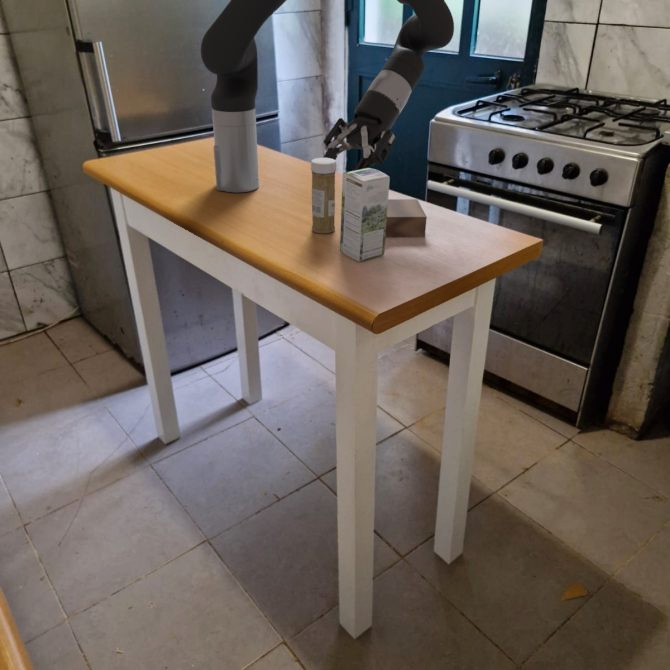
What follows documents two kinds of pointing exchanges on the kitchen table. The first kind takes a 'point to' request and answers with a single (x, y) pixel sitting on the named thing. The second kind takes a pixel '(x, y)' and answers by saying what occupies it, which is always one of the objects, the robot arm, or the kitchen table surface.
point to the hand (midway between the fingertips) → (339, 173)
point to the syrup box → (364, 213)
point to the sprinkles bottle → (323, 195)
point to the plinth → (405, 218)
